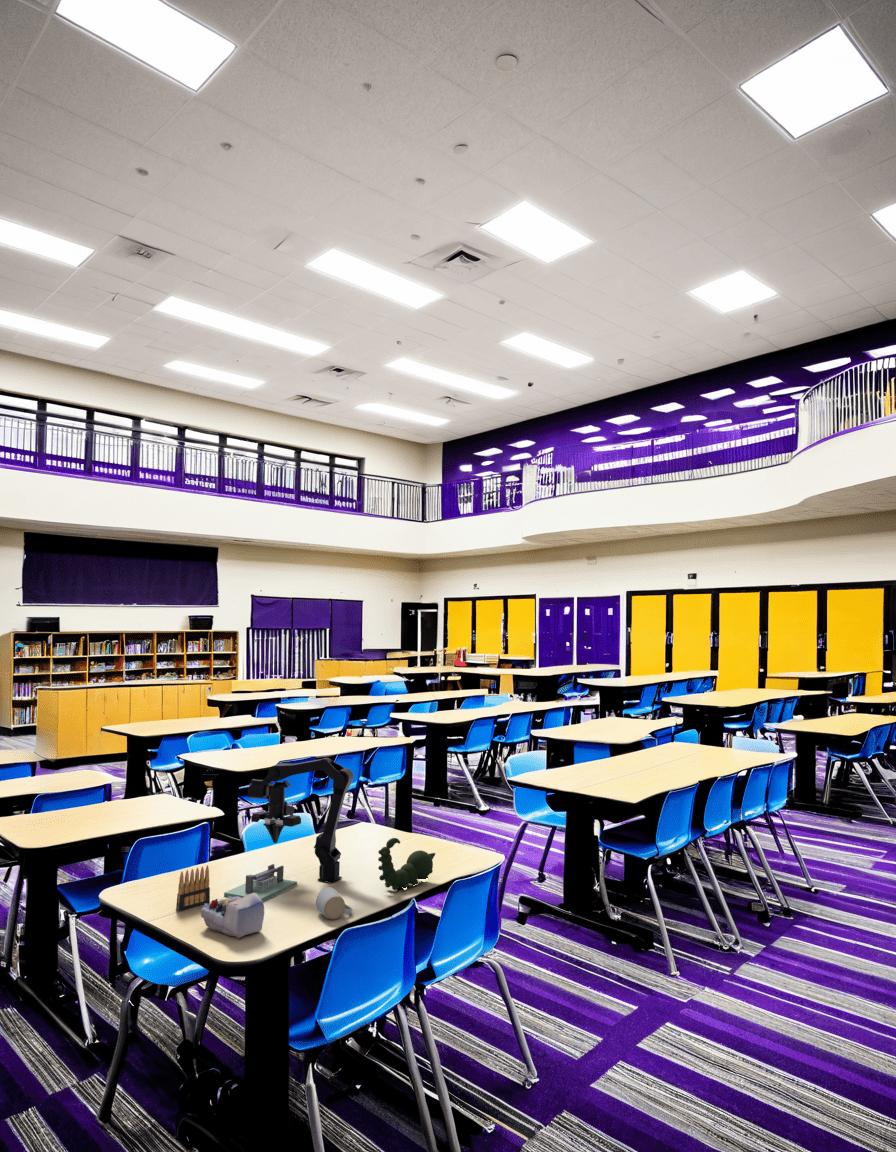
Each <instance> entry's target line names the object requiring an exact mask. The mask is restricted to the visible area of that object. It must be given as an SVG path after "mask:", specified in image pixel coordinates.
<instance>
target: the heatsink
mask: <svg viewBox="0 0 896 1152" xmlns="http://www.w3.org/2000/svg"><path fill="white" fill-rule="evenodd" d="M276 885H277V875H274V876H272V875H267V876H265V877H262V878H259V879H257V880H253V890H255V891H260V892H263V891H265V890H267V889H269V888H272V887H274V886H276Z"/></svg>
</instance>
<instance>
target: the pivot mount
mask: <svg viewBox="0 0 896 1152" xmlns="http://www.w3.org/2000/svg"><path fill="white" fill-rule="evenodd" d="M271 868H275V864H274V863H272V864H270V865H267V870H269V869H271ZM276 868H277V872H276V876H277V882H278V883H279V882H281V881H283V879H284V865H279V866H277V867H276ZM270 875H272V876H275V873H272V874H270Z"/></svg>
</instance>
